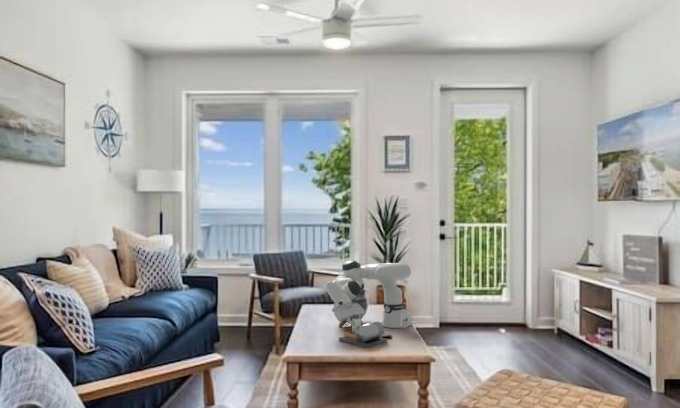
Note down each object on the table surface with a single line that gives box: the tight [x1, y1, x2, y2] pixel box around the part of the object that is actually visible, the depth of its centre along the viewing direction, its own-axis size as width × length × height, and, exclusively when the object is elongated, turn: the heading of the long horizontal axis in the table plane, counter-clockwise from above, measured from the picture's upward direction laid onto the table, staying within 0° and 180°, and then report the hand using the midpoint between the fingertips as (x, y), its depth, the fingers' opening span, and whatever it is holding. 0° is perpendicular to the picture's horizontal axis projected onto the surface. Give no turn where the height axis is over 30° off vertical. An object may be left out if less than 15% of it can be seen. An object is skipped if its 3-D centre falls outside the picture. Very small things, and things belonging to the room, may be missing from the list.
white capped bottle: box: [351, 314, 362, 334], centre depth 330 cm, size 5×5×11 cm
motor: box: [338, 321, 388, 349], centre depth 327 cm, size 18×22×11 cm
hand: (357, 323), depth 329 cm, fingers closed on white capped bottle, 5 cm apart
